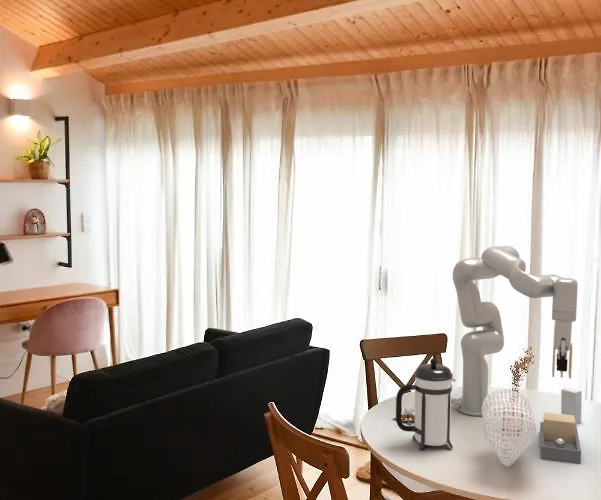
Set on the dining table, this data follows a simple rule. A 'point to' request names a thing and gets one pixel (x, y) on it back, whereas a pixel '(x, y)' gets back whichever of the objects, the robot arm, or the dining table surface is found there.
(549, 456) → the shaker tray
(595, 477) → the dining table surface
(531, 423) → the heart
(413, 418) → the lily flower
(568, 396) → the skincare box
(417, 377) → the coffee press
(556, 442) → the ball
